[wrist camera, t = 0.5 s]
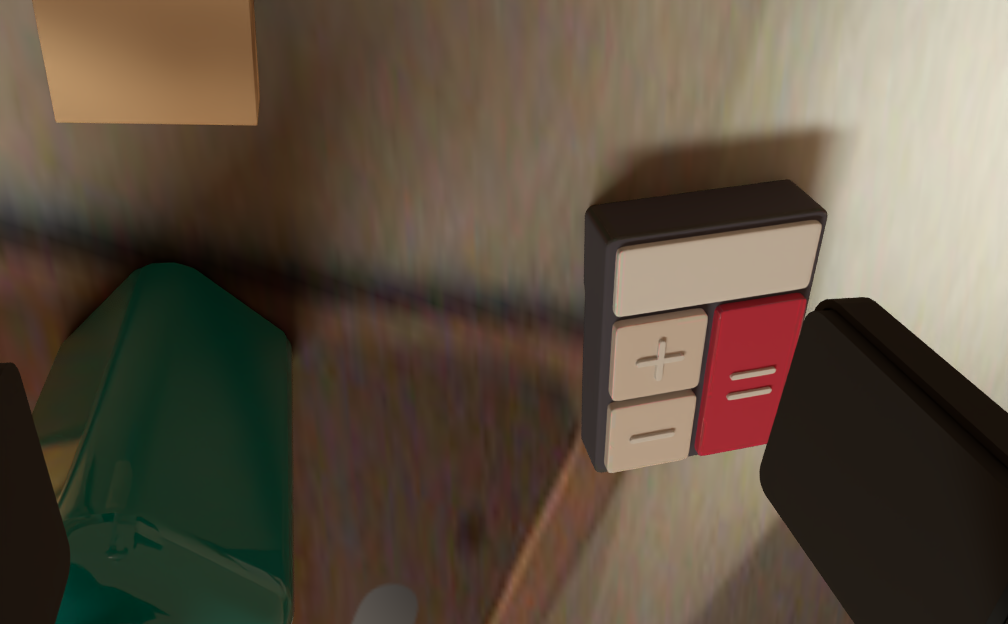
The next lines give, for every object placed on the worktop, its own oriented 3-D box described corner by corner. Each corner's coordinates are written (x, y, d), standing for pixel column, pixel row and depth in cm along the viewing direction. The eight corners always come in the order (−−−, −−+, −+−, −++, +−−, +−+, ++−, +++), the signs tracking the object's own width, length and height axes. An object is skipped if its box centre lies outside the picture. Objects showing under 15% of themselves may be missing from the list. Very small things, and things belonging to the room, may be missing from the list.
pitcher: (310, 345, 40) (329, 804, 21) (196, 451, 41) (123, 958, 23) (135, 219, 35) (-36, 680, 16) (12, 346, 36) (-265, 891, 18)
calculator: (598, 485, 44) (612, 248, 36) (576, 432, 48) (583, 203, 39) (784, 450, 46) (839, 216, 38) (749, 401, 50) (793, 176, 41)
